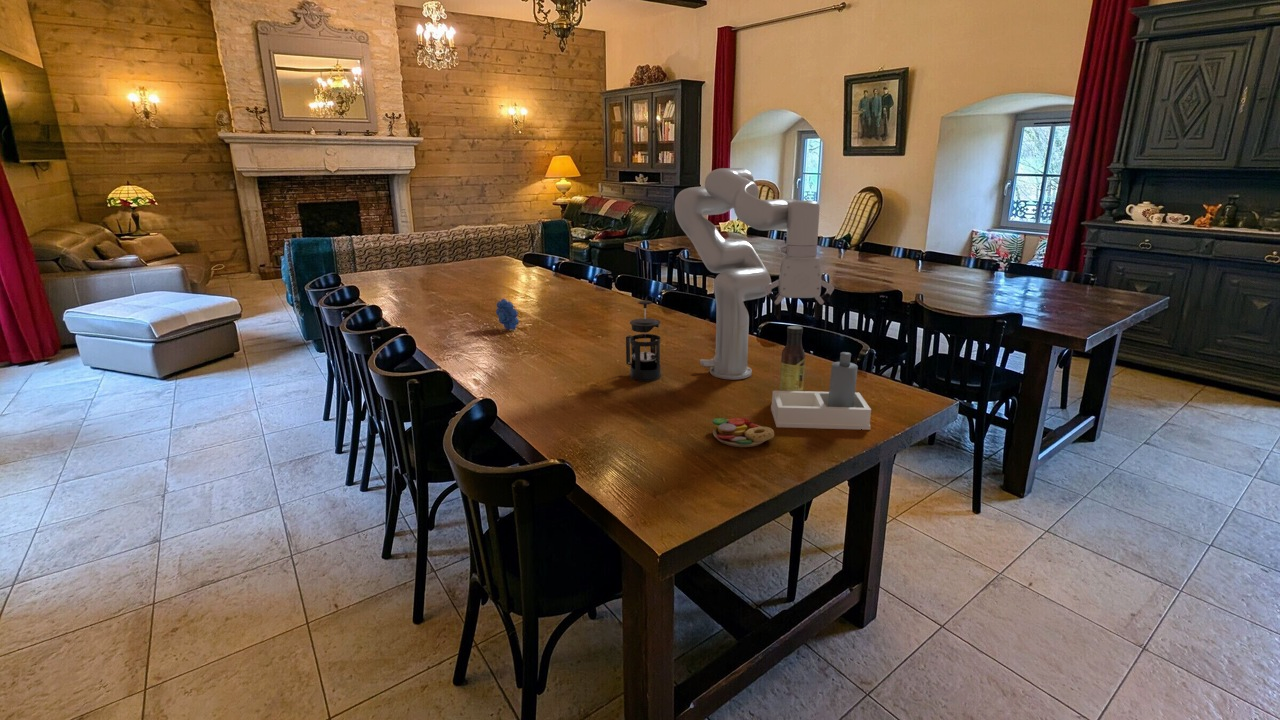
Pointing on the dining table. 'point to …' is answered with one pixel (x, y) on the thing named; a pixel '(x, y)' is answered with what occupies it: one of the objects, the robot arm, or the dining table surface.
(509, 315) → the grapes
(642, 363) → the french press
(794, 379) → the sauce bottle
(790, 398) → the condiment caddy
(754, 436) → the toy food set
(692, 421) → the dining table surface
